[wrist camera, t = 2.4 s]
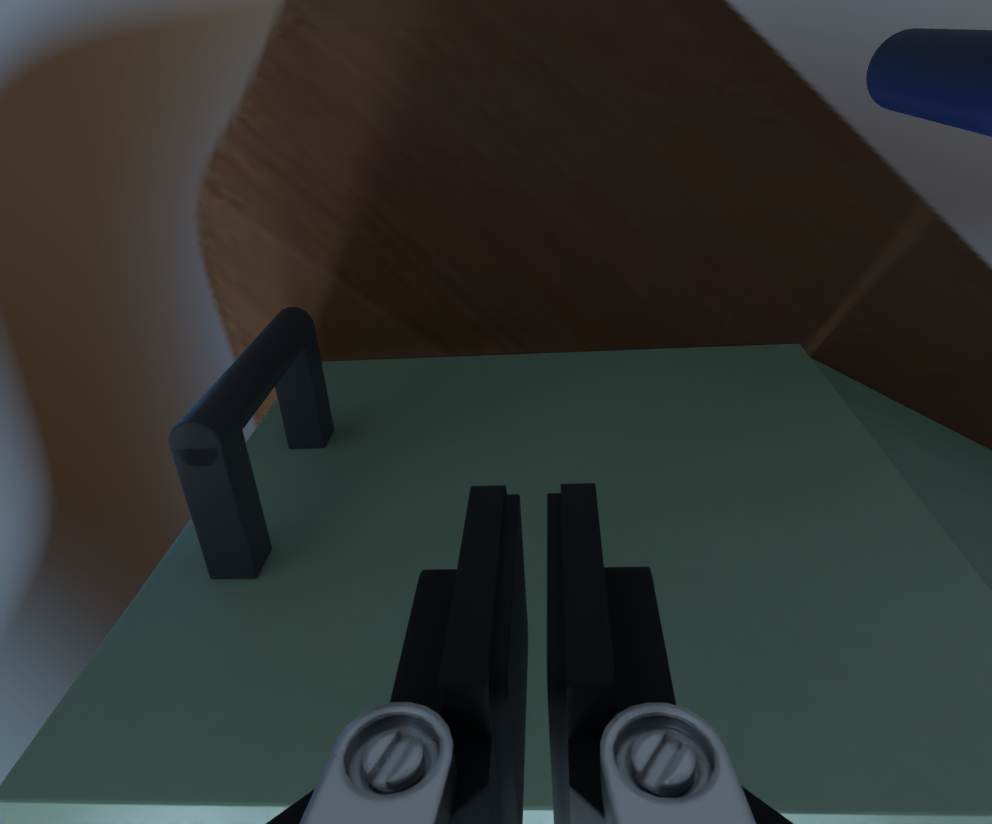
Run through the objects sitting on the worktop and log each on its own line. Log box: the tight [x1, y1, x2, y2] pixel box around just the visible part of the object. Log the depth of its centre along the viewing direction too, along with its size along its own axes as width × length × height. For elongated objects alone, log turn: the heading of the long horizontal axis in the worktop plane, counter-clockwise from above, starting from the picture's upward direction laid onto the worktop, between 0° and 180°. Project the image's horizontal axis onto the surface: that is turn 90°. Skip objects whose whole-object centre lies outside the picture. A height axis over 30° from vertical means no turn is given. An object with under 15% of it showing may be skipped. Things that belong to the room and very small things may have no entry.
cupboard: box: [811, 358, 992, 591], centre depth 34 cm, size 18×26×26 cm
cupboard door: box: [0, 307, 992, 824], centre depth 27 cm, size 7×26×26 cm, turn 94°
